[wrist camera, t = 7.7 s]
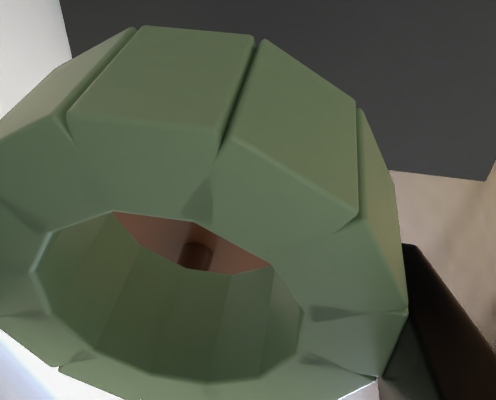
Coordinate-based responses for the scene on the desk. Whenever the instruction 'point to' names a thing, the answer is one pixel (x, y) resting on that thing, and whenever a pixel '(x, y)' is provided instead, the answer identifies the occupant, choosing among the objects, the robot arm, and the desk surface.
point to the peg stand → (189, 244)
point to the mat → (357, 63)
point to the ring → (199, 223)
